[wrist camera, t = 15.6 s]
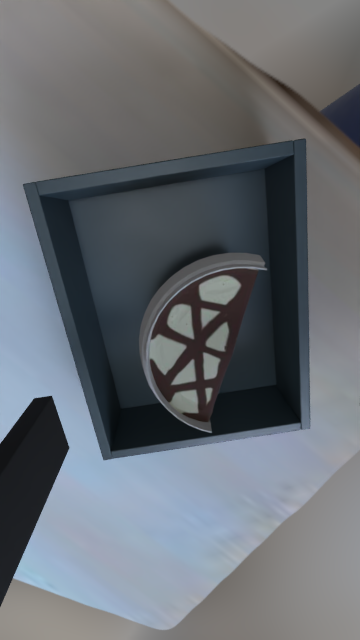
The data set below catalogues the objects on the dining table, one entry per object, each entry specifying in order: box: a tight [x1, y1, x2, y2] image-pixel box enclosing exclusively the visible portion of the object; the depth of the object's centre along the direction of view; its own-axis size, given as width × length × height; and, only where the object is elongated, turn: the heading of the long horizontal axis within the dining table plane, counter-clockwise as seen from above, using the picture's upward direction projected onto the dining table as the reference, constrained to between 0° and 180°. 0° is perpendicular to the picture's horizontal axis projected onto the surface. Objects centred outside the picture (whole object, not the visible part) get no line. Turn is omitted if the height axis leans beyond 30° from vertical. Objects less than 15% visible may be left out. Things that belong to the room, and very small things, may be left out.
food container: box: [139, 253, 267, 433], centre depth 23 cm, size 12×6×10 cm, turn 166°
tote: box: [23, 139, 310, 460], centre depth 25 cm, size 18×22×7 cm
